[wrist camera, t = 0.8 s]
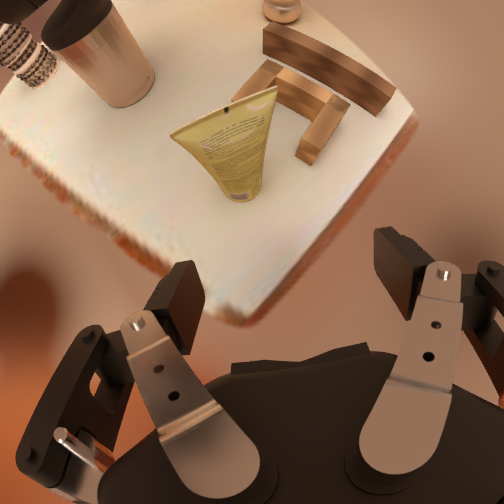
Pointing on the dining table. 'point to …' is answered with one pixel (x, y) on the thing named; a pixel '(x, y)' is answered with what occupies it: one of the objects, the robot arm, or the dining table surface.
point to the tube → (232, 143)
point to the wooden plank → (327, 66)
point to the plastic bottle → (282, 10)
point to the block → (300, 104)
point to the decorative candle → (26, 56)
